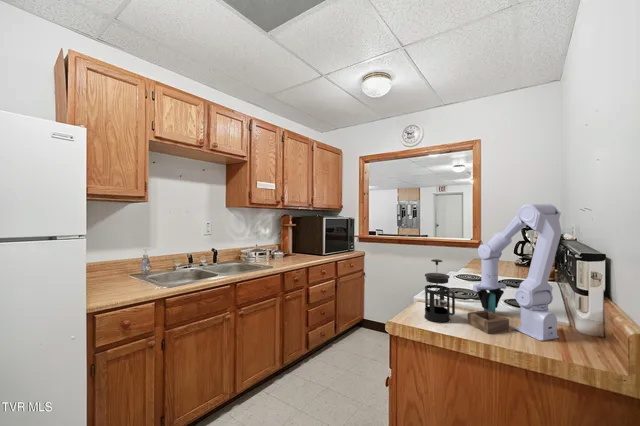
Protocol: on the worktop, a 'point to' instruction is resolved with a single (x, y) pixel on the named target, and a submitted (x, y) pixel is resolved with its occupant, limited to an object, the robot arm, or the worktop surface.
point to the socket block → (488, 321)
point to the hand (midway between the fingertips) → (489, 307)
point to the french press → (436, 307)
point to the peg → (491, 303)
